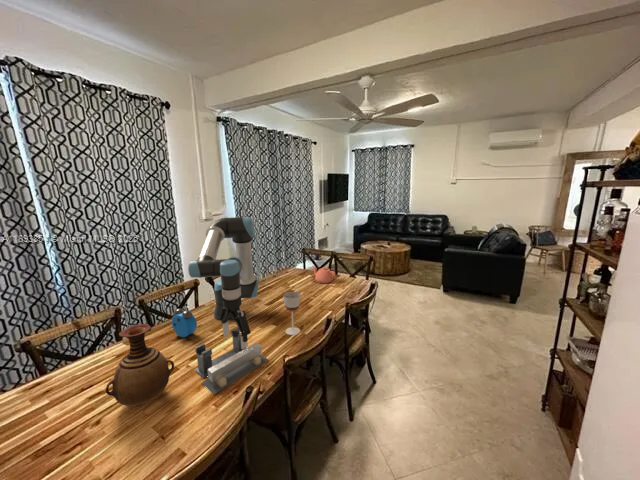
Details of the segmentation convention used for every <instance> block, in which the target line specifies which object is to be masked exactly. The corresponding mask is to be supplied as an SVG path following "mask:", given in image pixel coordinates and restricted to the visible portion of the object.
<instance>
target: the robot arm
mask: <svg viewBox="0 0 640 480" xmlns="http://www.w3.org/2000/svg"><path fill="white" fill-rule="evenodd" d="M205 237H206V238H205V240H204V242H203V245H202V247H201V250H200V252H199V255H198V257H197V260H196V259H195V260H191V261H190V262H189V263H188V267H187V269H188V274H189V277H190V278H195V279H196V278H197V279H198V278H199V279H201V278H211V277H217V278H218V277H220V279H218V280H217V281H215V283H214V289H213V290H214V299H215V307H214V310H213V318H214V319H215V320H218V321H220V322H221V325H222V336H223V338H226V337H228V336H231V335H230V334H231V331H230V324H229V323H230V322H229V320H230V319H232V320H233V321H234V322H235V323H236V325H237V328H239V332H240V333H241V335H240V337H241V349H244V348H247V347H249V345H248V338H249V337H248V335H250V334H252V333H251V329H250V327H249V323H248V320H247V317H246V312H245V310H241V305H242V299H253V298H257V296H258V290H259V279H257V278H256V277H257V276H255V275H254V270H253V269H254V268H253V258H252V246H251V244H252V242H253V240H254V238H255V237H256V229H255V224H254V220H253V219H252V217H249V216H248V217H247V216H242V217H236V216H235V217H222V218H218V219H216V220H215V221H214V222H212V223H211V224H210V225H209V226H208V227H207V228H206V231H205ZM224 239H231V241H232V242H233V243H234V244H235V252H236V256H230V257H229V258H227V259H226V258H225V259H223V258H222V259H217V256H218V254H219V249H220V246H221V243H222V241H223V240H224Z"/></svg>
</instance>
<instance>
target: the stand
mask: <svg viewBox="0 0 640 480" xmlns="http://www.w3.org/2000/svg"><path fill="white" fill-rule="evenodd" d="M230 334H231V335H230V336H232V346H233V348H232V349H231V350H229V351H226V352H225V353H223V354H221V355H219V356H217V357H215V358H214V359H213V357H212V355H213V349H212V348H208V349H206V344H205V343H202V344H199V345H198V346H196V347H195V348H194V350H195V353H196V359H197V360H196V361H197V367H196V368H195V369H194V372H195V371H196V373H197V375H199V377H201V376H202V377H203V378H204V379H206V378H208V377H207V376H208V370H207V369H209V368H211V367H213V366H215V365H216V364H218V363H220V362H222V361H224V360H226V359H227V358H229V357H231V356H233V355H235V354H236V353H238V352H240V351H242V350H244V349H246V348H247V347H246V348H244V349H241V337H240V335H241V332H240V330H239V328H238V327H237V328H234V329H231V330H230ZM202 377H201V378H202ZM205 377H206V378H205ZM203 378H202V379H203Z"/></svg>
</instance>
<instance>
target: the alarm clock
mask: <svg viewBox="0 0 640 480" xmlns="http://www.w3.org/2000/svg"><path fill="white" fill-rule="evenodd" d="M171 327H172V329H173V331H174V332H175V334H176V335H177V336H178V337H180V338H186V337H188V336H190V335H194V333H195V332H196V331H197V327H198V323H197V320H196V317H195V316H194V314H193V313H192V311H190V310H184V309H183V308H176V309H175V310H174V312H173V316H172V317H171Z"/></svg>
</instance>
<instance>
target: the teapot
mask: <svg viewBox="0 0 640 480" xmlns="http://www.w3.org/2000/svg"><path fill="white" fill-rule="evenodd" d="M312 268H313V274H314V276H315V281H316V282H318V283H320V284H330V283H331V282H332V281H333V280H334V277H335V276H336V271H334V270H333V271H331V269H330V268H327V266H324V267H321V268H319V269H318V270H317V268H316V266H314V265H312ZM329 282H330V283H329Z"/></svg>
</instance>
